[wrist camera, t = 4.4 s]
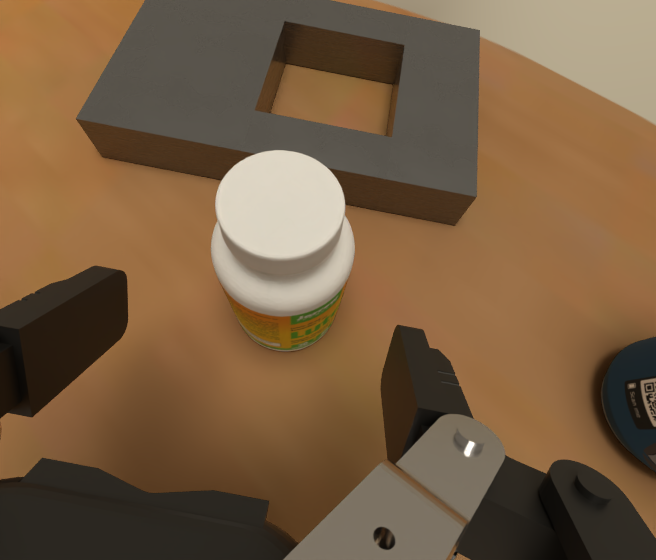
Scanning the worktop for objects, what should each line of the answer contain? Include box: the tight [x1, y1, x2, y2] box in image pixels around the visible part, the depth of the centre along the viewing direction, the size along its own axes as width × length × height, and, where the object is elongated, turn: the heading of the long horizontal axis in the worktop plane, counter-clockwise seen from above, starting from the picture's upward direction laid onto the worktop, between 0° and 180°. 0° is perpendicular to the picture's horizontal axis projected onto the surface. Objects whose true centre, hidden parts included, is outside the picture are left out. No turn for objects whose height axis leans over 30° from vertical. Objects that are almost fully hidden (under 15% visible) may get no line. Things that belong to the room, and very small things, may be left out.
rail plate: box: [76, 0, 480, 225], centre depth 24 cm, size 22×14×3 cm, turn 80°
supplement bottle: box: [211, 150, 355, 351], centre depth 16 cm, size 5×5×10 cm
